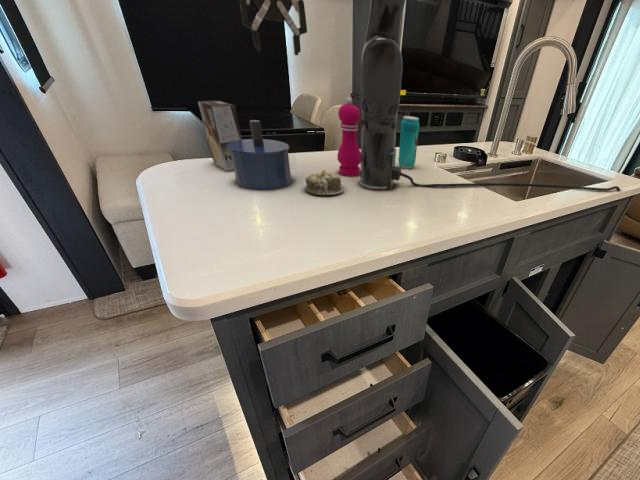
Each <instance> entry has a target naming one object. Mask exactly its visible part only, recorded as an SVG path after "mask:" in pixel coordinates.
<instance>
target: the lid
mask: <svg viewBox="0 0 640 480" xmlns="http://www.w3.org/2000/svg"><path fill="white" fill-rule="evenodd" d="M249 127H250V131H251V138H245V139H242V140H237V141H233V142H230V143H228V144H227V148H228V149H229V150H231V151H233V152H237V153H242V154H250V155H270V154H278V153H283V152H286V151H287V150H288V151H289V150H290V145H289V144H288V143H287V142H283V141H280V140H275V139H265V138H264V136H263V130H262V125H261V121H260V120H257V119H250V120H249Z"/></svg>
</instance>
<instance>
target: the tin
mask: <svg viewBox="0 0 640 480" xmlns="http://www.w3.org/2000/svg"><path fill="white" fill-rule="evenodd" d="M230 153H231V157H232V162H233V167H234V170H233V171H234V175H235V179H236V182H237V184H238V185H239V186H240V187H243V188H244V189H249V190H255V191H256V190H257V191H269V190H277V189H282V188H285V187H288V186H290V185H291V184H292V175H291V164H290V156H289V150H287V151H286V152H283V153H278V154H270V155H250V154H242V153H237V152H233V151H231V150H230Z"/></svg>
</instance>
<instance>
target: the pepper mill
mask: <svg viewBox="0 0 640 480" xmlns="http://www.w3.org/2000/svg"><path fill="white" fill-rule="evenodd" d="M337 115H338V119H339V120H340V122H341V123H340V130H341V133H342V137H341V138H342V139H341V143H340V146H339V149H338V151H337V157H336V158H337V162H338V163H339V164H340V165H339V167H338V169H339V174H340V175H342V176H346V177H347V176H348V177H356V176H358V175H359V176H360V175H361V173H360V169H361V166H359V165H361V149H360V147H359V145H358V141H357V131H358V130H359V124H358V122H359V121H360V120H361V111H360V109H359V107H357V106H356V105H355V104H353V98H352V97H350V96H348V97H346V98H345V103H344V104H342V105H341V106H340V107H339V108H338V113H337Z"/></svg>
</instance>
